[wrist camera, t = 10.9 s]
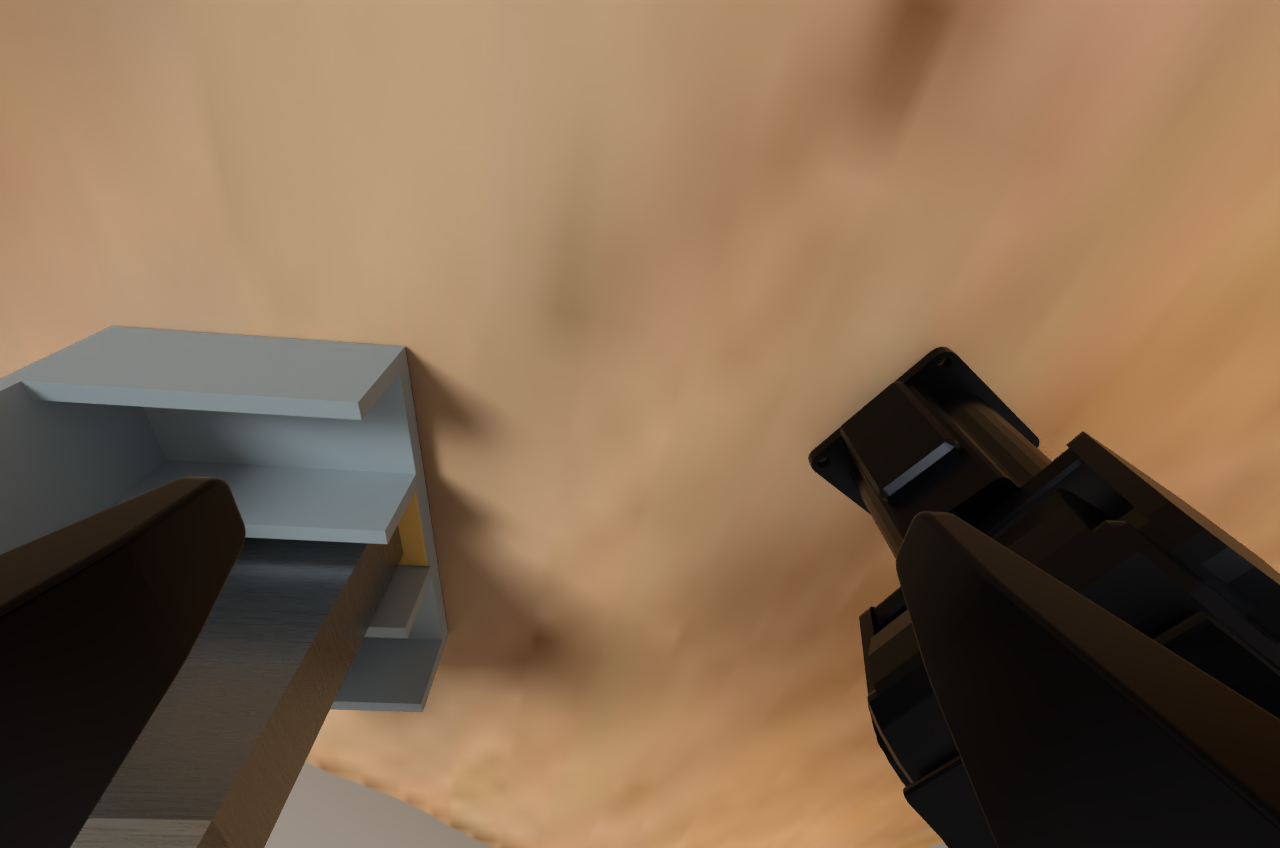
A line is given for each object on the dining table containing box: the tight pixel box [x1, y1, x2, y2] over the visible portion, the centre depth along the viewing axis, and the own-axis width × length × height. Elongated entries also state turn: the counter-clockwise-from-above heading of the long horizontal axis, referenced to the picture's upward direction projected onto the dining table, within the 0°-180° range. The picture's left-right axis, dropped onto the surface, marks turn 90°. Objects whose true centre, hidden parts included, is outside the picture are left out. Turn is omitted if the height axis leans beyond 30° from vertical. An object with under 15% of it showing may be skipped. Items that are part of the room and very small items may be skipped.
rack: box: [0, 326, 448, 712], centre depth 18 cm, size 10×16×12 cm, turn 175°
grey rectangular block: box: [70, 525, 404, 848], centre depth 17 cm, size 7×3×12 cm, turn 85°
